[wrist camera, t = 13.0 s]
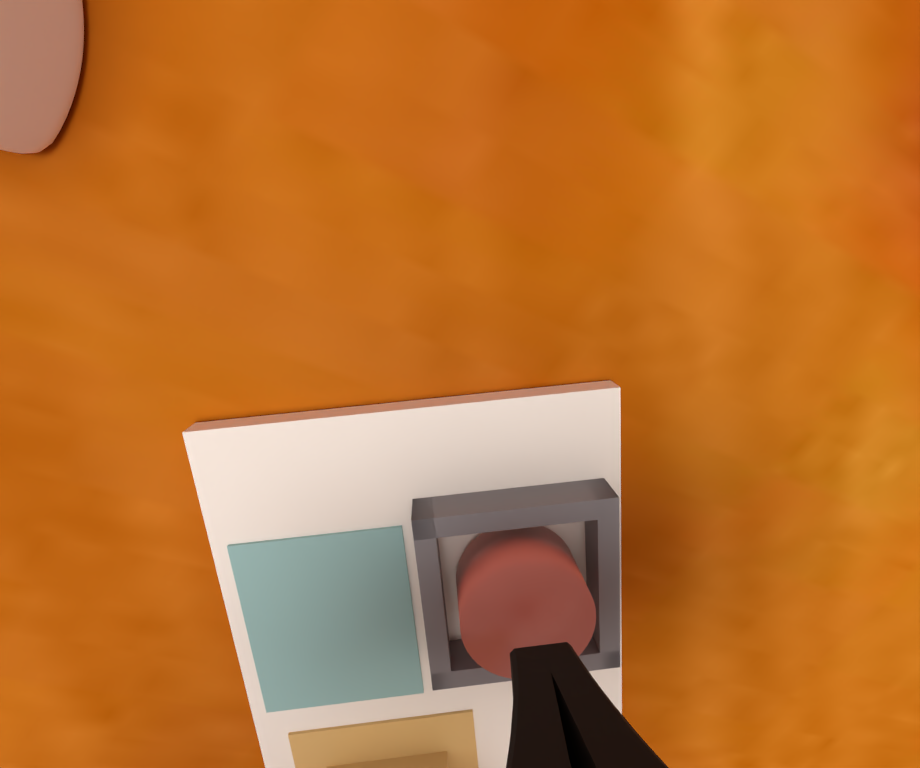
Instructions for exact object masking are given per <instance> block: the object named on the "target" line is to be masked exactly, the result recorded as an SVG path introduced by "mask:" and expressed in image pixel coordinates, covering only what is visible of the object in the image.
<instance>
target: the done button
mask: <svg viewBox="0 0 920 768" xmlns="http://www.w3.org/2000/svg"><path fill="white" fill-rule="evenodd" d="M456 587H457V598H458V610H459V621H460V632H461V638H462V641H463V644H464V646H465V648H466V650H467V652H468V653H469V655H470V656H471V657H472V659H473V660H474V661H475V662H476V663H477V664H478V665H480V666H481V667H482V668H484V669H485V670H487V671H489V672H491V673H493V674H496V675H498V676H502V677H505V678H511V665H510V652H511V651H512V650H513V649H514V648H522V647H530V646H538V645H546V644H554V643H562V642H567V643H569V644H570V645H571V646H572V647H573V649H574V650H575V652H576V654H577V655H578V656H579V655H580V654H581V653H582V652H583V651H584V649H585V648H586V647H587V645H588V643H589V642H590V640H591V638H592V635H593V632H594V629H595V624H596V607H595V604H594V600H593V598H592V595H591V593H590V591H589V589H588V587H587V585H586V583H585V581H584V579H583V576H582V574H581V572H580V570H579V568H578V566H577V564H576V562H575V560H574V558H573V556H572V553H571V551H570V549H569V548H568V546H567V544H566V543H565V542H564V541H563V540H562V538H561V537H559V536H558V535H557V534H556V533H555V532H553V531H551V530H550V529H548V528H546V527H544V526H538V527H529V528H521V529H512V530H503V531H494V532H485V533H481V534H480V535H479V536H477V537H476V538H475V539H474V540H473V541H472V542H471V543H470V544H469V545H468V546H467V548H466V549H465V550H464V552H463V554H462V555H461V558H460V560H459V563H458V566H457V571H456ZM511 679H512V678H511Z"/></svg>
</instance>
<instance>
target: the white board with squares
mask: <svg viewBox="0 0 920 768" xmlns="http://www.w3.org/2000/svg"><path fill="white" fill-rule="evenodd" d="M182 433H183V437H184V442H185V446H186V450H187V454H188V458H189V462H190V466H191V470H192V474H193V478H194V482H195V486H196V490H197V494H198V498H199V502H200V506H201V510H202V514H203V518H204V522H205V526H206V530H207V534H208V538H209V542H210V546H211V550H212V554H213V558H214V562H215V567H216V571H217V575H218V579H219V583H220V587H221V591H222V595H223V599H224V603H225V607H226V611H227V615H228V619H229V623H230V627H231V631H232V635H233V639H234V643H235V647H236V651H237V655H238V659H239V663H240V667H241V671H242V675H243V679H244V683H245V687H246V692H247V696H248V700H249V704H250V708H251V712H252V716H253V720H254V724H255V728H256V732H257V736H258V740H259V744H260V748H261V752H262V756H263V760H264V764H265V768H326V767H327V766H335V765H343V764H351V763H358V762H366V761H374V760H381V759H389V758H397V757H405V756H412V755H420V754H428V753H435V752H443V751H447V757H448V765H449V768H506V764H507V757H508V750H509V743H510V734H511V722H512V709H513V691H512V679H511V678H505V677H502V676H498V675H496V674H493V673H491V672H489V671H487V670H485V669H484V668H482V667H481V666H480V665H478V664H477V663H476V662H475V661H474V660H473V659H472V657H471V656H470V655H469V653H468V652H467V650H466V648H465V646H464V644H463V641H462V638H461V632H460V621H459V610H458V598H457V587H456V571H457V566H458V563H459V560H460V558H461V555H462V554H463V552H464V550H465V549H466V548H467V546H468V545H469V544H470V543H471V542H472V541H473V540H474V539H475V538H476V537H477V536H479V535H480V534H481V533H485V532H494V531H503V530H512V529H521V528H529V527H538V526H544V527H546V528H548V529H550V530H551V531H553V532H555V533H556V534H557V535H558V536H559V537H561V538H562V540H563V541H564V542H565V543H566V544H567V546H568V548H569V549H570V551H571V553H572V556H573V558H574V560H575V562H576V564H577V566H578V568H579V570H580V572H581V574H582V576H583V579H584V581H585V583H586V585H587V587H588V589H589V591H590V593H591V595H592V598H593V600H594V604H595V607H596V624H595V629H594V632H593V635H592V638H591V640H590V642H589V643H588V645H587V647H586V648H585V649H584V651H583V652H582V653H581V654H580V655H579V656H578V657H579V658H580V660H581V661H582V663H583V664H584V665H585V667H586V668H587V670H588V671H589V673H590V674H591V675H592V677H593V678H594V679H595V681H596V682H597V683H598V685H599V686H600V688H601V689H602V690H603V692H604V693H605V694H606V695H607V697H608V698H609V699H610V701H611V702H612V703H613V704H614V706H615V707H616V708H617V709H618V710H619V712H620V713H621V714H622V628H621V399H620V387H619V386H618V385H616V384H615V383H614V382H612V381H611V380H607V381H597V382H588V383H578V384H568V385H558V386H549V387H539V388H529V389H519V390H509V391H500V392H490V393H480V394H470V395H461V396H451V397H441V398H431V399H422V400H412V401H402V402H392V403H382V404H373V405H363V406H353V407H343V408H334V409H324V410H314V411H304V412H295V413H285V414H275V415H265V416H256V417H246V418H236V419H226V420H216V421H207V422H197V423H194V424H193V425H192V426H190V427H189V428H188V429H186V430H185V431H184V432H182Z"/></svg>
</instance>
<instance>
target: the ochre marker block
mask: <svg viewBox="0 0 920 768" xmlns="http://www.w3.org/2000/svg"><path fill="white" fill-rule="evenodd" d="M326 768H449V765H448V757H447V751H443V752H435V753H428V754H420V755H412V756H405V757H397V758H389V759H381V760H374V761H366V762H358V763H351V764H343V765H335V766H327V767H326Z"/></svg>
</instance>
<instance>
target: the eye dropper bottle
mask: <svg viewBox="0 0 920 768" xmlns="http://www.w3.org/2000/svg"><path fill="white" fill-rule="evenodd" d="M83 47H84V14H83V3H82V0H0V150H4V151H9V152H14V153H20V154H26V153H38V152H41V151H42V150H44V149H45V148H46V147H48V146H49V145H50V144H52V143H53V141H54V140H55V138H56V136H57V135H58V133H59V132H60V130H61V128H62V126H63V124H64V122H65V120H66V117H67V115H68V112H69V110H70V108H71V105H72V102H73V99H74V96H75V93H76V89H77V85H78V81H79V76H80V71H81V65H82V58H83Z"/></svg>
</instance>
